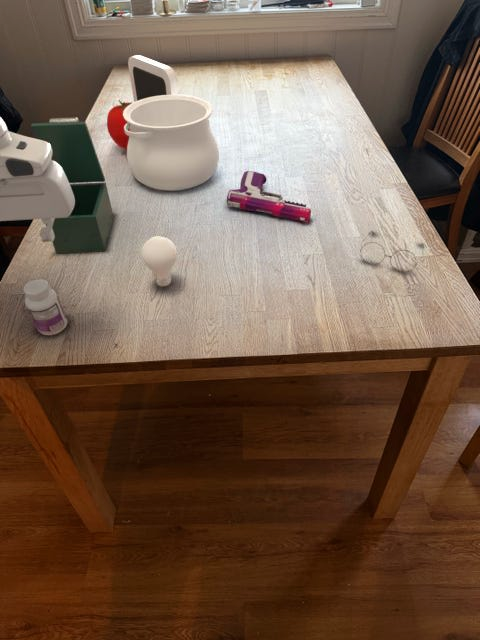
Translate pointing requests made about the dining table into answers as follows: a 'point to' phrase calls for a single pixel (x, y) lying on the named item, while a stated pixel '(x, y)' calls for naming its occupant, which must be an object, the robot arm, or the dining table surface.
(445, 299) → the dining table surface
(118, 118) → the tomato
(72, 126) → the lid
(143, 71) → the computer
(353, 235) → the dining table surface
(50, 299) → the pill bottle
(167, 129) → the pot
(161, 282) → the light bulb
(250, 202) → the toy gun
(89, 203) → the chest
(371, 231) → the eyeglasses
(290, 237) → the dining table surface
